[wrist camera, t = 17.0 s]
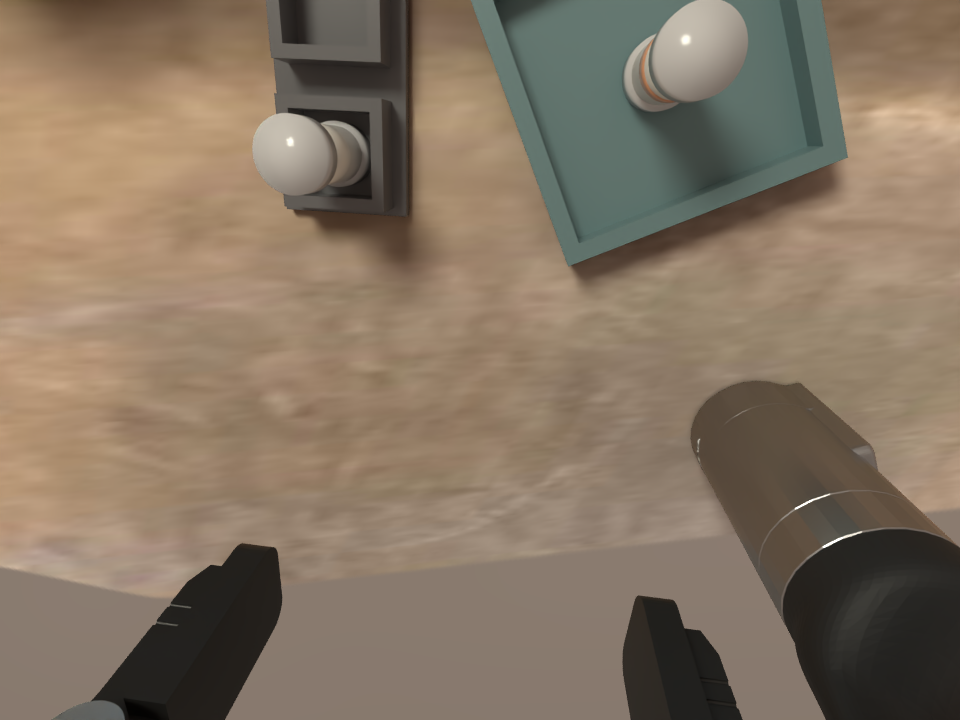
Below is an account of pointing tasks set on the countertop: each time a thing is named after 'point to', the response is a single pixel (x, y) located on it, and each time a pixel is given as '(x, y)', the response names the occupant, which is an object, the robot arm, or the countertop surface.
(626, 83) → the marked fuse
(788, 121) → the tray
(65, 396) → the countertop surface
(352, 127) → the peg
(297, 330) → the countertop surface
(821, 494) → the robot arm
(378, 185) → the block
